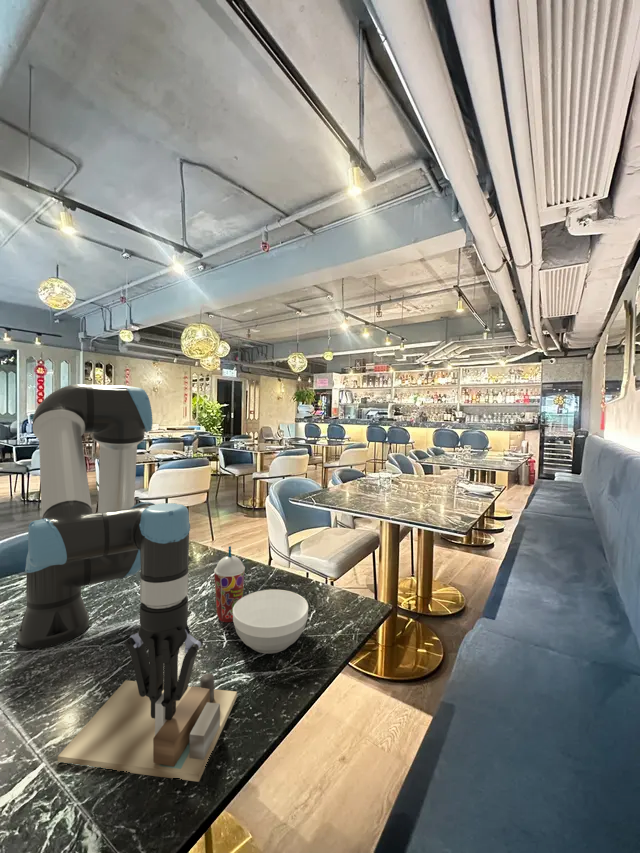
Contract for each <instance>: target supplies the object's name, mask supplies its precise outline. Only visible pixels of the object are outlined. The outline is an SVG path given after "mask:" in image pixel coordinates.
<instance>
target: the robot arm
mask: <svg viewBox="0 0 640 853" xmlns="http://www.w3.org/2000/svg"><path fill="white" fill-rule="evenodd" d="M149 398H150V397H149V395H148V392H146V390H145V389H144V388H142V387H137V386H136V387H135V386H128V385H112V384H111V385H107V384H104V385H103V384H101V385H100V384H84V383H81V384H80V383H78V384H69V385H66V386H63V387H60V388H59V389H57V390H55V391H53V392H51V393H50V394H48V396H46V397H45V398H44V399H43V400H42V401H41V402H40V403H39V405H38V406H37V408H36V409H35V411H34V414H33V418H32V432H33V435H34V437H36V439H38V447H39V473H40V475H39V476H40V477H39V478H40V479H39V480H40V498H41V499H40V503H41V505H40V506H41V518H40V519H38V520H37V519H36V520H33V521H31V522H30V523H29V524H28V527H27V528H28V530H27V533H28V534H27V536H28V539H27V540H28V541H27V542H28V544H27V545H28V547H27V548H28V550H27V551H28V552H27V554H26V559H25V560H26V561H25V569H24V573H26V579H25V580H26V583H25V584H26V585H25V586H26V590H25V591H26V593H25V594H26V596H25V598H26V609H25V611H24V614H23V616H22V619H21V623H20V626H19V627H18V628H19V629H18V631H17V643H18V644H19V645H20V646H21V647H23V648H26V649H43V648H49V647H54V646H57V645H60V644H63V643H66V642H68V641H71V640H73V639H75V638H76V637H78V636H80V635H81V634H82V633H84V632H85V631H86V630H87V629H88V627H89V625H90V614H89V611H88V610H87V609H86V606H85V602H84V600H83V597H82V587H86V586H91V585H95V584H99V583H103V582H105V583H106V582H109V581H113V580H118V579H120V580H121V579H124V578H127V577H130V576H134V575H136V574H137V573H138V572H140V576H139V577H140V579H139V601H140V604H139V625H140V627H139V629H138V631H134V632H133V633H132V634H131V635H130V636H129V637H128V638H127V639H126V640H125V641H124V645H125V647H126V649H127V650H128V653H129V655H130V658H131V662H132V667H133V671H134V678H135V681H137V686H138V690H139V694H140V696H141V697H144V696H147V697H149V699H150V701H151V717H152V718H155V735H156V734H157V733H158V731H159V730H160V729H161V727H162V726H163V725H164V723H165V722H166V721H167V720H171V719H172V717H173V716H174V714H175V712H176V701H179V700H180V699H181V698H182V696H183V695H184V693H185V692H186V690H187V688H188V687H189V683H190V680H191V676H192V672H193V669H194V668H193V667H194V664H195V661H196V656H197V652H198V650H200V648H201V646H202V645H203V643H204V640H203V639H202V638H201V637H198V638H195V637H194V636H193V635H191V631H190V627H189V625H188V621H189V620H188V619H189V597H188V594H189V565H190V564H189V563H190V562H189V558H190V557H189V556H190V552H189V551H190V531H191V523H190V512H189V509H188V508H187V506H185V505H183V504H179V503H173V502H172V503H170V502H167V503H157V504H156V503H154V502H149V501H145V502H144V501H142V502H138V503H136V504H135V496H136V495H135V493H136V492H135V491H136V477H137V476H136V475H137V458H138V457H137V456H138V455H137V454H138V445H139V444H141V443H142V442H143V441H144V440H145V433H148V432H151V431H152V429H153V428H152V427H153V410H152V405H151V400H150V399H149ZM84 433H85V434H87V433H90V434H91V433H92V434H93V435H92V438H93V440H94V441H95V442H96V443H98V445H99V465H98V466H99V468H98V472H99V473H98V497H97V498H98V501H97V502H98V504H97V506H98V507H97V512H93V506H92V499H91V492H90V486H89V479H88V474H87V466H86V459H85V453H84V445H83V438H82V437H83V435H84ZM184 644H185V647H184V653H185V654H184V657H183V659H182V662H181V668H180V672H179V668H178V666H179V653H180V648H181V647H182V646H183V645H184ZM178 675H179V676H178ZM163 690H164V692H163V694H162V691H163Z"/></svg>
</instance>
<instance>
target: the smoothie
mask: <svg viewBox="0 0 640 853" xmlns="http://www.w3.org/2000/svg"><path fill="white" fill-rule="evenodd" d="M213 569H214V570H213V572H214V587H215V588H214V589H215V590H214V591H215V600H216V601H215V602H216V603H215V604H216V607H215V608H216V615H217V617H218V619H219V621H221V622H222V623H232V622H233V607H234V605H235V603H236V602H237V601H238V600H239V599H241V598H242V597H244V585H245V584H244V583H245V572H246V571H245V569H246V567H245V565H244V563H243V562H242V561H241V559H240V558H238V557H237V556H235V555H232V546H231V545H230V546H229V545H228V555H227V556H224V557H222V558H221V559H220V560H219V561H218V562H217V565H216V567H215V568H213ZM233 623H234V622H233Z"/></svg>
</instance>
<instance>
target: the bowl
mask: <svg viewBox="0 0 640 853" xmlns="http://www.w3.org/2000/svg"><path fill="white" fill-rule="evenodd" d="M308 613H309V603H308V601H307V600H306V598H304V597H303V596H301V595H300V594H298V593H297V592H294V591H290V590H284V589H264V590H263V589H262V590H258V591H255V592H254V591H253V592H251V593H249V594H246V595H243V597H242V598H241V599H239V600H238V601H237V602H236V603H235V605H234V607H233V625H234V629H235V632H236V635H237V636H238V638H240V640H241V641H242V642H243V644H245V645H246V646H247V647H249V648H250V649H252V650H254V651H255V652H257V653H261V654H269V655H270V654H271V655H272V654H277V653H280V652H282V651H285V650H286V649H287V648H289V647H290V646H291V645H293V644H294V643H296V641H297V640H298V639H299V637H300V636H301V635H302V634H303V632H304V630H305V628H306V624H307V621H308V618H309V616H308V615H309V614H308Z"/></svg>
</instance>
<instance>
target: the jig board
mask: <svg viewBox="0 0 640 853" xmlns="http://www.w3.org/2000/svg"><path fill="white" fill-rule="evenodd" d="M199 680H200V681H199V687H201V688H207V689H210V703H209V702H207V703H206V705H205V707H204V709H203V711H202V713H201V714H200V716H199V718H198V720H197V722H196V724H195V725H194V727H193V729H192V731H191V733H190V742H189V743H188V745H187V747H186V748H185V750H184V751H183V753H182V755H181V756H180V758H179V759H178V761H177V763H176V764H175V766H174V767H172V766H168V765H163V764H158V763H153V738H154V737H155V718H152V717H151V701H150V699H149V697H147V696H144V697H141V696H140V694H139V690H138V686H137V681H136V680H129V679H127V680H124V681H123V682H122V684H121V685H120V686H119V687H118V688H117V689H116V690H115V691H114V692H113V694H112V695H111V696H110V697H109V698H108V699H107V701H105V703H103V705H102V706H101V707H100V708H99V710H98V711H97V712H95V714H94V715H93V716H92V717H91V718H90V720H89V721H87V722H86V723H85V725H84V726H83V727H82V728H81V730H80V731H78V733H77V734H76V735H75V736H74V737H73V738H72V739H71V741H69V743H68V744H67V745H66V746H65V748H64V749H62V751H61V752H60V753H59V754H58V755H57V763H58V762H64V763H73V764H80V765H89V766H94V767H101V768H106V769H113V770H117V771H116V772H120V771H124V772H123V773H128V772H130V773H129V774H136V775H143V776H144V775H145V776H153V777H157V778H158V777H160V778H166V779H167V778H168V779H173V778H180V779H179V780H181V779H182V780H183V781H190V782H197V783H198V782H200V780H201V779H202V775H203V774H204V772H205V769H206V767H207V765H206V764H208V763H209V760H210V758H211V756H212V754H213V752H214V749H215V747H216V745H217V743H218V741H219V738H220V736H221V734H222V731H223V729H224V727H225V725H226V724H227V720H228V718H229V716H230V714H231V711H232V709H233V707H234V704H235V703H236V700H237V698H238V691H233V690H226V689H215V675H214V674H212V673H205V674H203V675H202V676H201V677H200V679H199ZM191 687H192V686H188V688H187V690H186V692H185V693H184V695H183V696H182V698H181V699H180V700H179V701H176V707H177V706H178V704H179V703H180V702H181V700H182V699H183V698H184V696H185V695H186V694H187V692H188V691H189V690H190V688H191ZM163 692H164V690H163V691H162V694H163ZM212 751H213V752H212ZM211 753H212V754H211ZM210 755H211V756H210ZM209 757H210V758H209ZM208 759H209V760H208ZM207 762H208V763H207ZM205 766H206V767H205ZM126 771H127V772H126Z"/></svg>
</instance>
